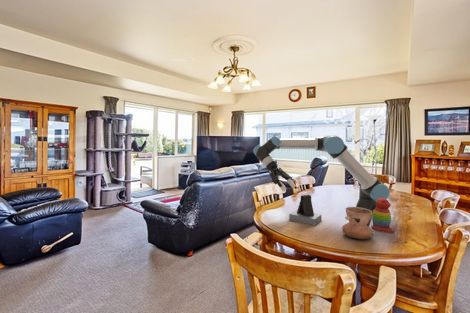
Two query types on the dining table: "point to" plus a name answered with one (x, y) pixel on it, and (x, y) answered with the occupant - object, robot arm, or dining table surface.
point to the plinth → (305, 218)
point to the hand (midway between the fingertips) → (290, 188)
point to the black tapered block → (305, 206)
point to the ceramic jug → (358, 223)
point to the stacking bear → (382, 216)
